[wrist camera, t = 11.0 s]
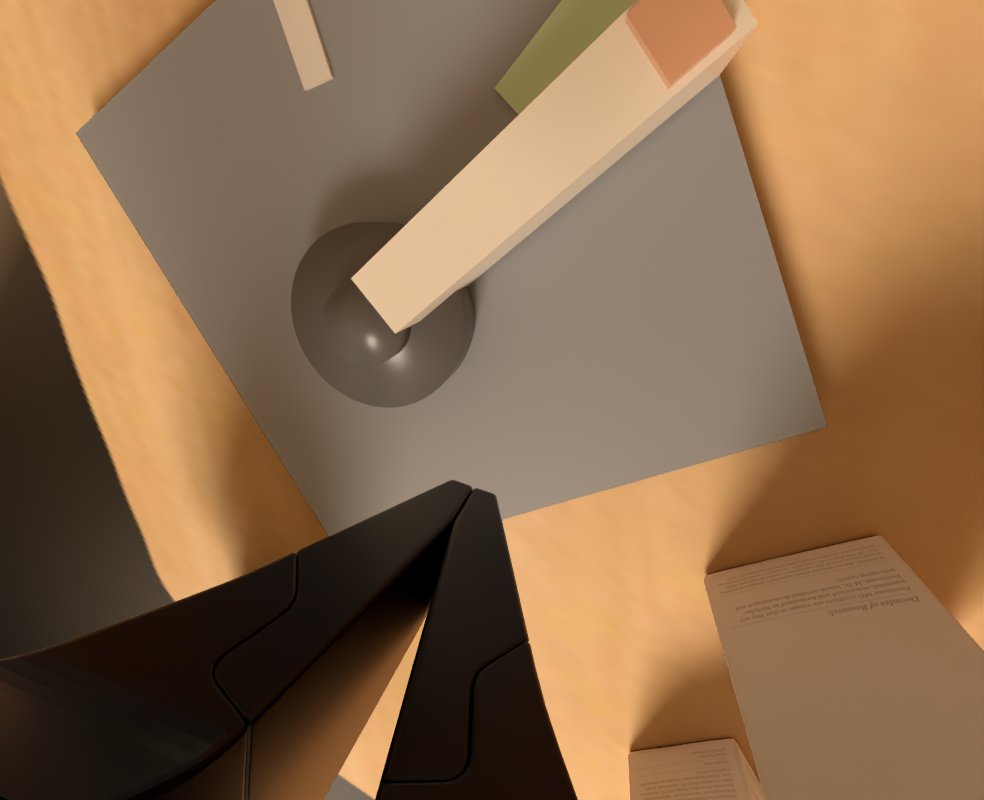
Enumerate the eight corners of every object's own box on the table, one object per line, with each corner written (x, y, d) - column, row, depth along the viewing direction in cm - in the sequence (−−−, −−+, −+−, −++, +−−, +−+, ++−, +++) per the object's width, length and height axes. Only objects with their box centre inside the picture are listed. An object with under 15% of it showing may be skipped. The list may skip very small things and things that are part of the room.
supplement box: (697, 571, 21) (807, 980, 10) (883, 529, 19) (1332, 1016, 7) (750, 688, 23) (898, 1159, 11) (929, 664, 20) (1356, 1242, 9)
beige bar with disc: (389, 423, 21) (338, 468, 17) (283, 296, 20) (204, 313, 16) (761, 143, 14) (820, 112, 10) (632, -67, 13) (644, -190, 9)
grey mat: (354, 551, 26) (343, 566, 25) (99, 137, 20) (70, 132, 19) (816, 416, 18) (830, 429, 17) (589, -313, 13) (588, -365, 11)
